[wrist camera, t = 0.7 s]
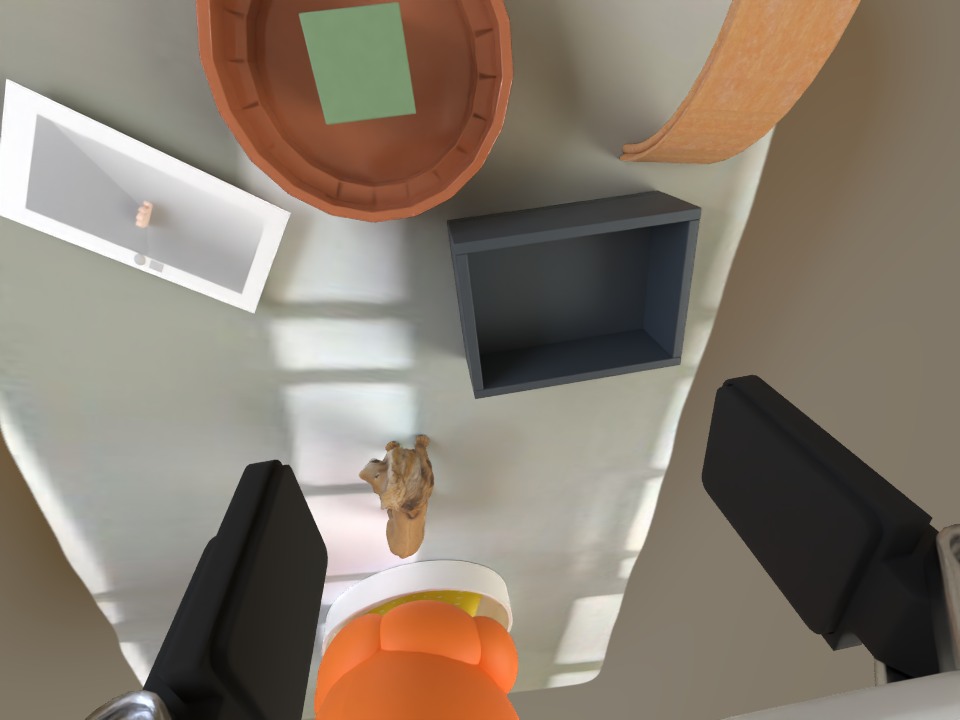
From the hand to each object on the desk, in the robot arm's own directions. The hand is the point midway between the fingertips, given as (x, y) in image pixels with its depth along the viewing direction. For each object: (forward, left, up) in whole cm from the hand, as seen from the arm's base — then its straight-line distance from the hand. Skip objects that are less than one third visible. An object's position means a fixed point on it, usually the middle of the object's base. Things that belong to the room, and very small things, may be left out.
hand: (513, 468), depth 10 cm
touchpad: (-3, -18, -26) cm, 32 cm away
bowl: (-9, -3, -26) cm, 27 cm away
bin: (+6, +8, -26) cm, 28 cm away
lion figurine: (+22, -7, -26) cm, 35 cm away
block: (-9, -3, -25) cm, 27 cm away
